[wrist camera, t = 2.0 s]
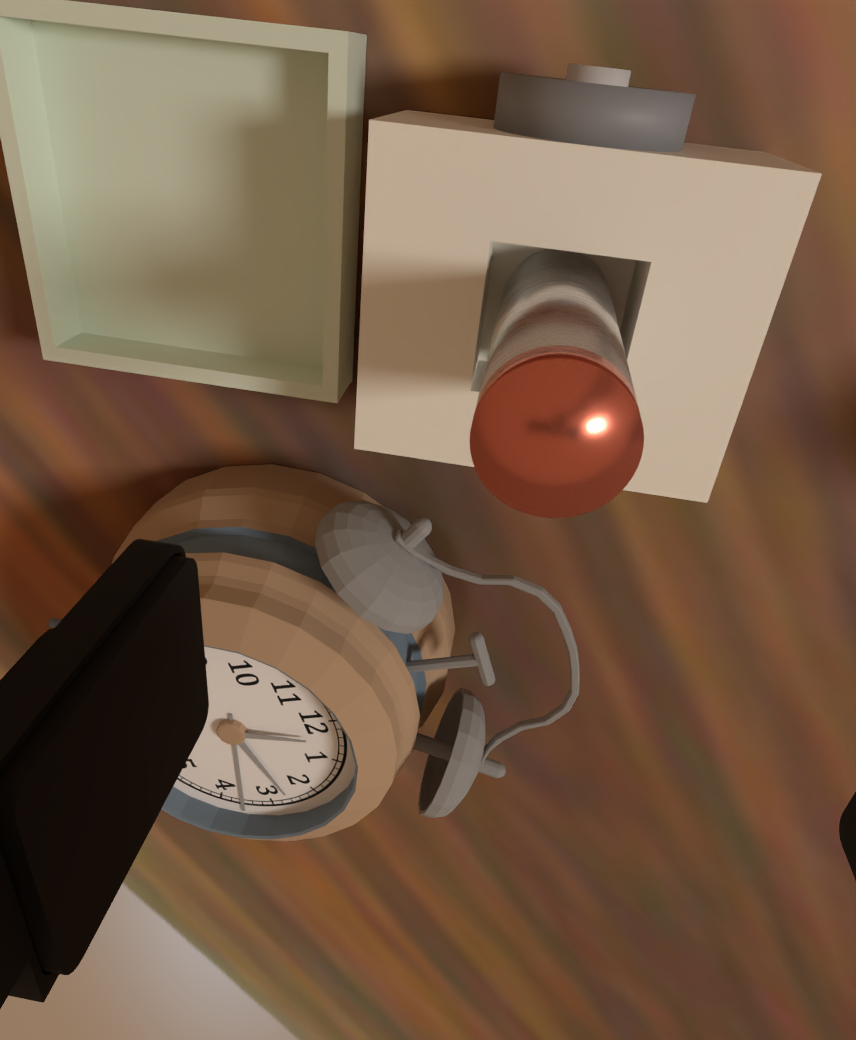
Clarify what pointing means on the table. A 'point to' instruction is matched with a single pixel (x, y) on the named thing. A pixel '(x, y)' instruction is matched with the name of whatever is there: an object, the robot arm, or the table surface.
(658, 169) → the block
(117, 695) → the robot arm
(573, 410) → the pin
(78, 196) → the tray
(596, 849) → the table surface
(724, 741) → the table surface
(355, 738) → the alarm clock
